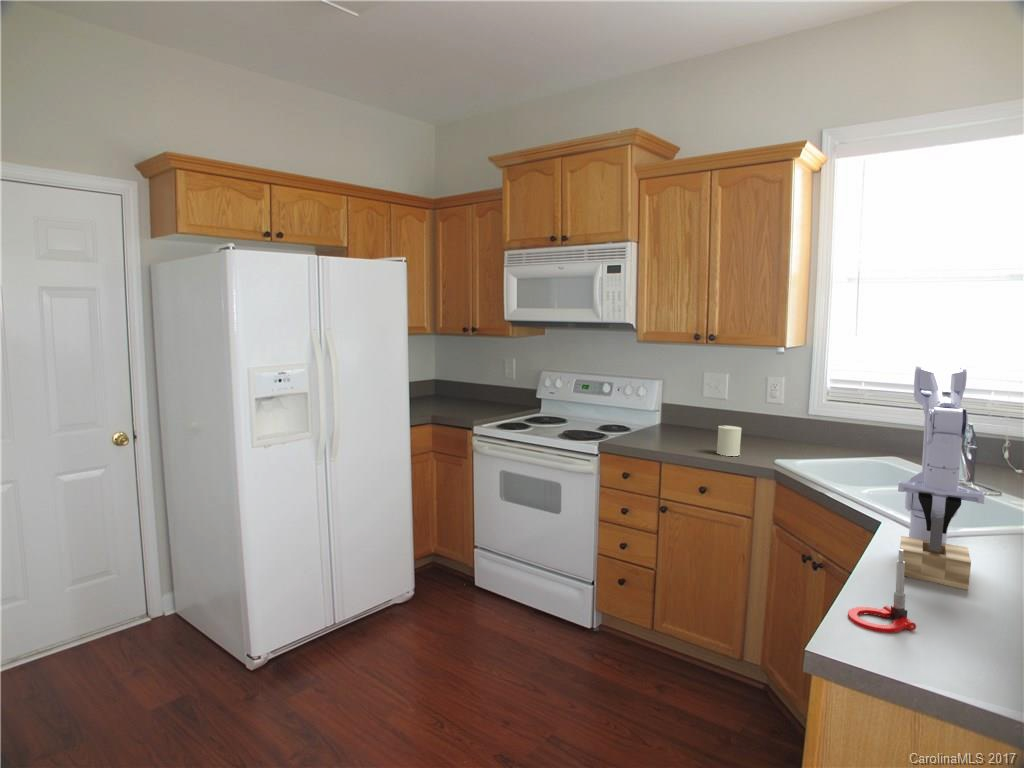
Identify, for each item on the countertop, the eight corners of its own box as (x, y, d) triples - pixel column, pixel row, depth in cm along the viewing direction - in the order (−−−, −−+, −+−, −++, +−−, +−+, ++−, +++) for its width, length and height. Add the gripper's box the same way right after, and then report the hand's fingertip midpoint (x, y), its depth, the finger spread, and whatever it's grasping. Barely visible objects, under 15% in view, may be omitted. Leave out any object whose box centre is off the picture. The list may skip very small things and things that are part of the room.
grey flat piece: (928, 541, 133) (931, 509, 133) (940, 543, 132) (943, 511, 131) (928, 551, 127) (932, 517, 127) (940, 553, 126) (944, 519, 126)
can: (722, 451, 264) (724, 423, 263) (743, 455, 258) (745, 426, 257) (712, 454, 257) (714, 425, 256) (733, 458, 251) (735, 428, 250)
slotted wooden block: (899, 559, 140) (901, 535, 139) (965, 572, 133) (967, 547, 133) (897, 574, 131) (899, 549, 130) (968, 589, 124) (971, 562, 124)
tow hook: (867, 636, 104) (920, 633, 105) (870, 560, 103) (923, 558, 104) (837, 614, 112) (886, 611, 113) (839, 543, 111) (889, 541, 112)
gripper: (900, 464, 129) (894, 528, 130) (988, 475, 121) (981, 543, 122) (901, 458, 135) (895, 520, 136) (985, 469, 127) (978, 534, 128)
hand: (936, 531), depth 129 cm, fingers closed on grey flat piece, 2 cm apart
